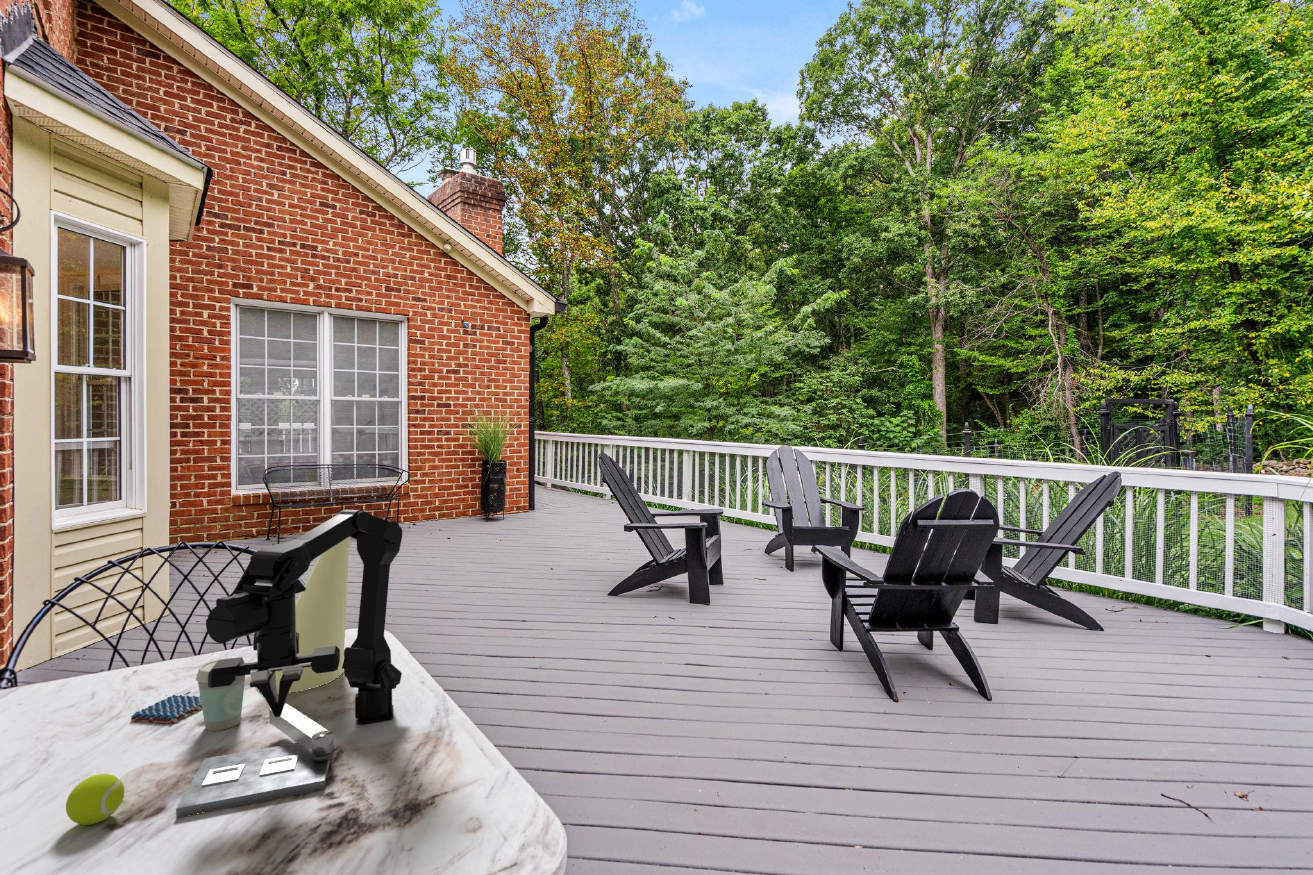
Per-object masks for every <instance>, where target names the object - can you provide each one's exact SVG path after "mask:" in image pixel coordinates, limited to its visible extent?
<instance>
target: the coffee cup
mask: <svg viewBox="0 0 1313 875" xmlns="http://www.w3.org/2000/svg"><path fill="white" fill-rule="evenodd" d="M231 658H232V657H227V658H226V657H225V658H221V659H216V660H212V661H208V662H206V663H204V664H202V665H200V666H199V668H198V671H197V673H196V678H195V681H196V682H197V683H198V684H197V685H198V691H199V697H200V698H201V704H202V709H201V710H202V714H203V715H202V716H203V721H204V726H205V727H204V728H205V730H206V731H210V732H218V731H224V730H223V729H225V730H227V728H228V729H230V728H233V727H235V726H237V725H239V724H240V723H241V722H242V721H241V718H242V710H243V701H244V693H245V692H244V691H245V683H246V675H244V676H236V680H235V681H234V682H233V683H232V684H231V685H229V686H222V687H214V688H209V687H208V674H209V671H210V670H211V669H212V667H213V666H214V665H215V664H216V663H217V662H218V661H219V660H223V659H231ZM244 663H246V662H245V661H244Z"/></svg>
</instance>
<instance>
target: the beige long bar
mask: <svg viewBox="0 0 1313 875" xmlns="http://www.w3.org/2000/svg"><path fill="white" fill-rule="evenodd" d="M268 711H269V712H268V715H269V721H268V722H269V724H270V725H272V726H273V727H275V728H276V729H277V730H279V731H280V732H281V733H283V734H284V735H286V736H287V737H288V738H290V740H293V741H294V743H298V744H300V745H301V746H302V747H304V748H305V749H307V750H308V751H309V752H311V753H312V754H313V755H316V756H319V755H325V754H327V753H329V752H331V751H332V750H334V749H333V748H334V737H333V731H332V730H328V729H327V728H326V727H323V726H322V725H321V724H319V723H318V722H315V721H314V720H313V719H311V718H310V717H308V716H307V715H305V714H303V713H302V712H300V711H298V709H296V708H295V707H292V706H291V705H289V704H288V703H285V705H284V708H283V711H282V714H281V717H275V716H274V714H273V712H272V710H271V708H270V707H269V708H268Z"/></svg>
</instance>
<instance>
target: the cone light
mask: <svg viewBox="0 0 1313 875" xmlns="http://www.w3.org/2000/svg"><path fill="white" fill-rule="evenodd" d="M351 544H352V542H351V537H348V538H346V539H345V540H343V541H342V542H340V543H339V544H337V545H335V546H334V547H332V548H331V549H329V550H328V551H326V552H324V553H323V554H321V555H320V556H318V557H317V558H318V559H317V561H316V563H315V564H314V567H313V568H312V570H311V573H310V574H309V577H308V578H307V579H306V580H307V581H306V582H305V585H303V586H304V587H306V590H305V591H303V592H300V593H299V597H298V599H297V600H296V601H295V609H296V632H297V633H299V653H298V654H296V656H297V657H299V656H307V655H313V652H314V649H315V648H321V647H330V646H337V647H338V648H339V649H340V662H339V666H338V670H336V671H333V672H326V673H318V674H317V673H315V672H314V671H313V670H312V667H305V668H304V670H303V673H302V676H301V679H300V680H299V681H295V682H293V683H292V685H291V687H290V690H289V692H288V694H291V693H290V692H296V693H299V692H298V691H301V690H306V689H309V688H313V687H317V686H320V685H324V684H326V683H329V682H330V681H333V680H334V679H336V678H338V677H339V676H340V675H341V674H342V672H343V673H344V669H342V665H343V662H344V650H345V639H346V616H347V596H348V594H347V593H348V574H349V573H348V572H349V571H348V570H349V553H350V550H349V549H350V548H351ZM282 675H283V673H282V671H276V688H277V695H279V684H280V679H281V677H282ZM342 675H343V674H342ZM342 675H341V676H342ZM341 676H340V677H341ZM340 677H339V678H340ZM339 678H338V679H339ZM336 680H337V679H336ZM333 682H334V681H333ZM329 684H330V683H329ZM326 685H327V684H326ZM324 686H325V685H324ZM255 688H256V689H255ZM255 688H254V689H255V691H257V690H258V689H257V687H255ZM258 692H259V693H260V691H258Z"/></svg>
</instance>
